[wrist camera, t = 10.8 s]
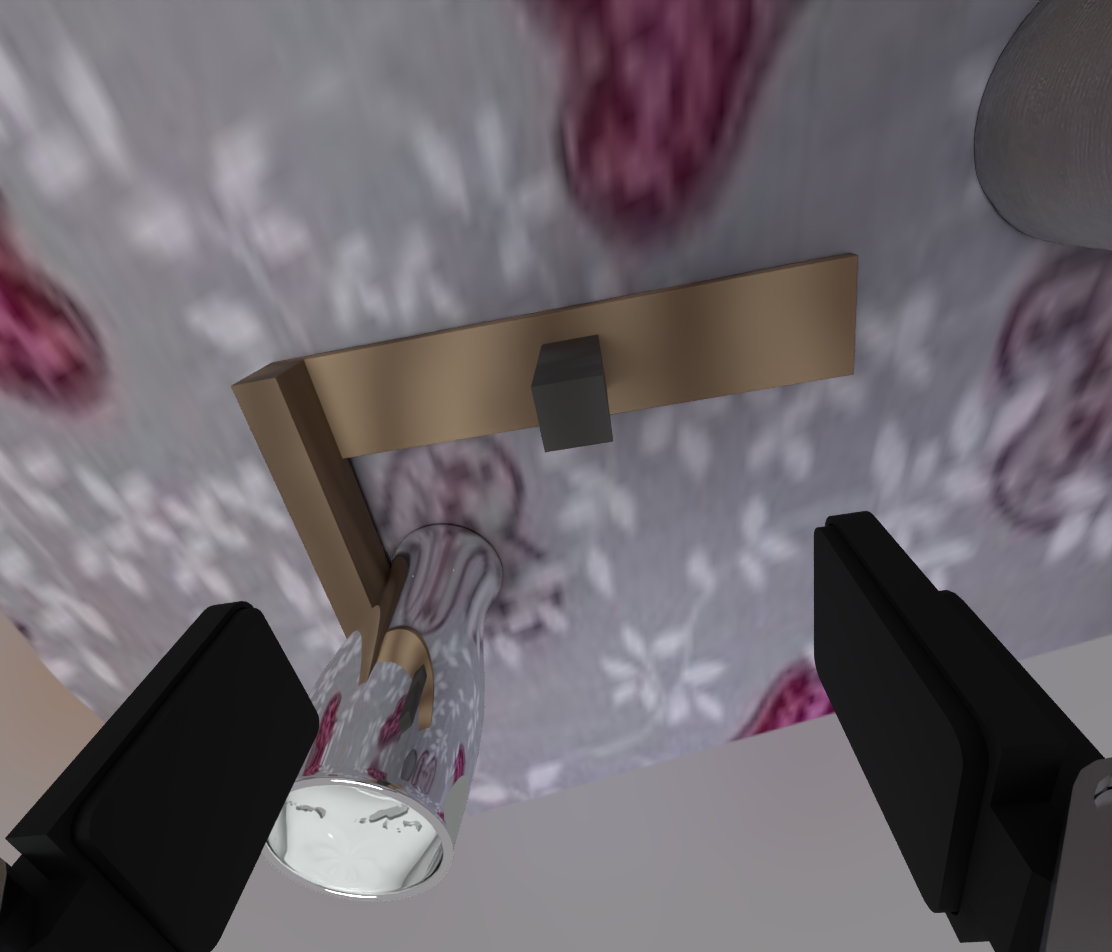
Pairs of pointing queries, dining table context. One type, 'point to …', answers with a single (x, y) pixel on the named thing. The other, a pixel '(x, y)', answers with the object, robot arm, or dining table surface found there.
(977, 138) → the pillar candle
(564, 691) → the dining table surface
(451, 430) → the brown wooden bent piece
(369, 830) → the beer glass
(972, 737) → the robot arm
